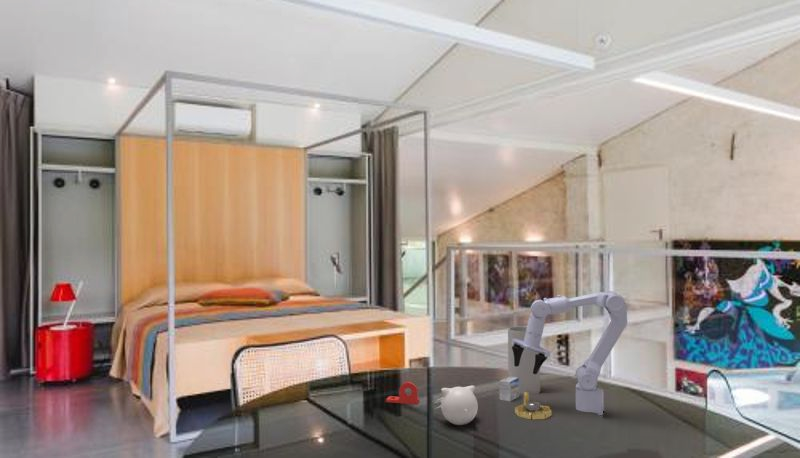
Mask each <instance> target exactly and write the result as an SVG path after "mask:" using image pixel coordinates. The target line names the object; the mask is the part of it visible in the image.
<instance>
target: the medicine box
mask: <svg viewBox="0 0 800 458" xmlns="http://www.w3.org/2000/svg"><path fill="white" fill-rule="evenodd" d="M519 397H520V394H519V378H516V377H508V376H507V377H505V378H503V379H501V380H499V400H501V401H506V402H512V401H514V400H515V399H518V398H519Z"/></svg>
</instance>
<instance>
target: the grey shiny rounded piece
mask: <svg viewBox="0 0 800 458" xmlns="http://www.w3.org/2000/svg"><path fill="white" fill-rule="evenodd" d="M540 405H541V402H539V401H538V400H537V401H536V400H529V401H527V402H526V410H525V411H526V412H531V413H535V411H540Z"/></svg>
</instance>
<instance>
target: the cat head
mask: <svg viewBox="0 0 800 458" xmlns="http://www.w3.org/2000/svg"><path fill="white" fill-rule="evenodd" d="M475 389H476V387H475V385H468V386H454V387H450V388H449V387H442V388H441V389H440V392H441V393H442V397H440V398H439V399H436V400H435V401H436V402H435V404H436V403H440V405H439V406H438V407H436V408H435V410H436V409H439V408H441V413H442V415H443V416H444V418H445V419H446V420H447V421H448V422H449V423H451V424H453V425H456V426H463V425H467V424H469V423H471V422H472V421H473V420H474V419H475V418H476V416H477V413H478V410H479V409H478V408H479V405H478V404H479V403H478V400H477V397H476V396H475V394H474V392H475Z"/></svg>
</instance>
